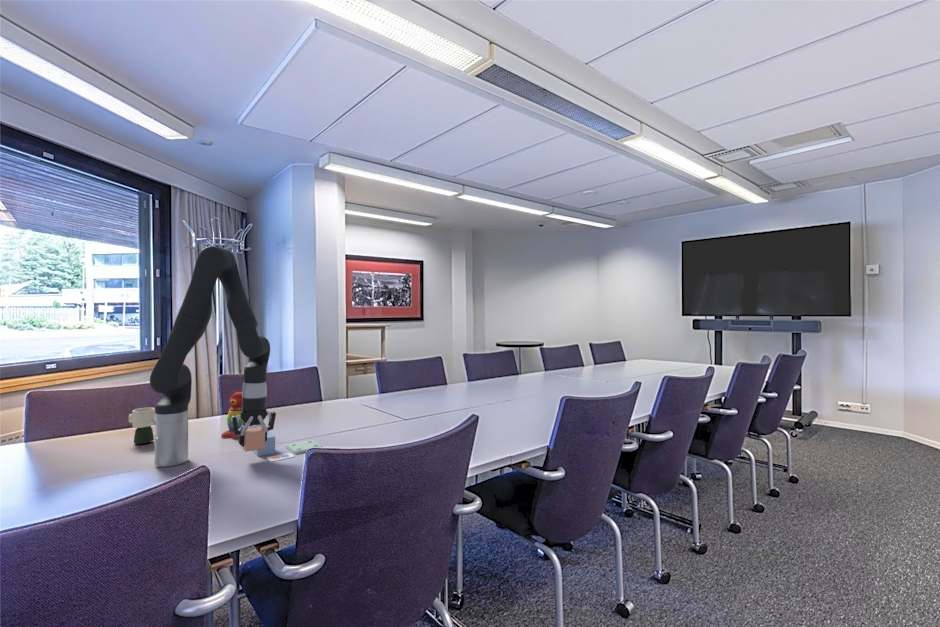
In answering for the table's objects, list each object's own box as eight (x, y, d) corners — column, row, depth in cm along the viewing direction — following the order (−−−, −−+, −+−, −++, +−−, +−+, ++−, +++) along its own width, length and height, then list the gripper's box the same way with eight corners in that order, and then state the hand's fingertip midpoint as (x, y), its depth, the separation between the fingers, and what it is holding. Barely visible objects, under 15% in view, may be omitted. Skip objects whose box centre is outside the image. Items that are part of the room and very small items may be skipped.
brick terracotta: (245, 451, 147) (245, 433, 147) (241, 447, 152) (241, 429, 152) (264, 448, 151) (265, 431, 151) (259, 444, 156) (260, 427, 156)
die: (238, 449, 166) (255, 428, 166) (228, 434, 170) (244, 413, 171) (256, 451, 173) (272, 431, 173) (246, 436, 178) (262, 416, 178)
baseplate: (294, 454, 159) (294, 450, 159) (286, 447, 167) (286, 444, 167) (322, 448, 165) (322, 445, 165) (312, 442, 173) (312, 439, 173)
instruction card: (270, 461, 151) (270, 461, 151) (266, 457, 155) (266, 457, 155) (294, 457, 156) (294, 456, 156) (290, 453, 160) (290, 452, 160)
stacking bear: (218, 437, 179) (218, 393, 179) (238, 430, 189) (238, 389, 188) (240, 440, 176) (240, 395, 176) (259, 433, 185) (259, 390, 185)
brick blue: (257, 456, 157) (257, 439, 157) (252, 452, 161) (252, 435, 161) (275, 453, 161) (275, 436, 160) (270, 448, 165) (270, 432, 165)
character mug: (164, 440, 175) (164, 407, 175) (152, 445, 168) (152, 411, 168) (135, 440, 174) (135, 407, 174) (122, 446, 167) (122, 411, 167)
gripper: (233, 399, 144) (232, 451, 144) (279, 395, 153) (278, 443, 153) (228, 395, 150) (227, 445, 150) (273, 391, 159) (272, 438, 159)
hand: (253, 444), depth 152 cm, fingers closed on brick terracotta, 6 cm apart
